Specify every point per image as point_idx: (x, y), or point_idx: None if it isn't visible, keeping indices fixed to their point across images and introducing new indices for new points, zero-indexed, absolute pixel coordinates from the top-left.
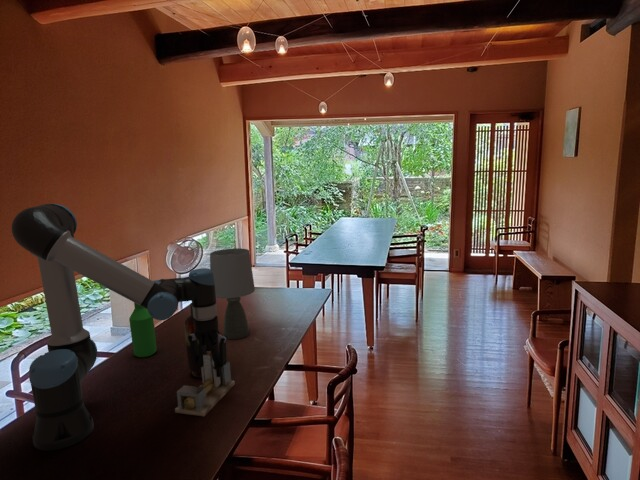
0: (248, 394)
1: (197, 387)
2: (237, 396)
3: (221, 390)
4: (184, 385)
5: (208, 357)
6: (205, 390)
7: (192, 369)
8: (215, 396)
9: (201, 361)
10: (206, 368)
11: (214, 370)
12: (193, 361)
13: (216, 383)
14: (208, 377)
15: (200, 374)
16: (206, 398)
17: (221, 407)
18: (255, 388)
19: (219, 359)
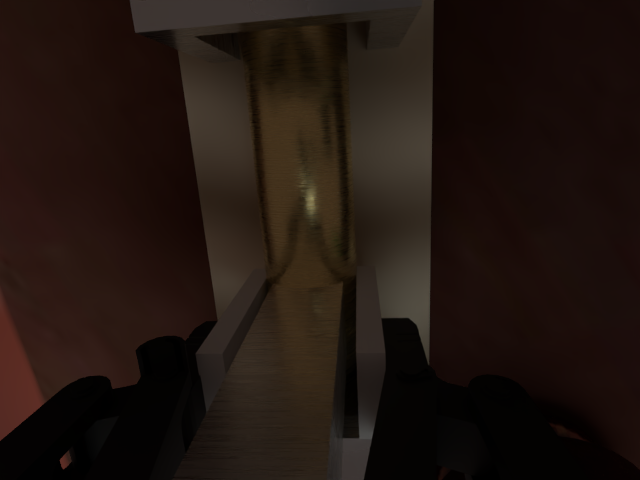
0: (84, 299)
1: (224, 8)
2: (131, 263)
3: (238, 276)
4: (415, 5)
5: (214, 466)
6: (152, 39)
7: (595, 453)
8: (227, 192)
9: (378, 411)
10: (305, 346)
11: (209, 341)
12: (522, 403)
13: (246, 284)
14: (303, 297)
15: (407, 321)
16: None
17: (140, 113)
18: (91, 367)
19: (40, 454)
